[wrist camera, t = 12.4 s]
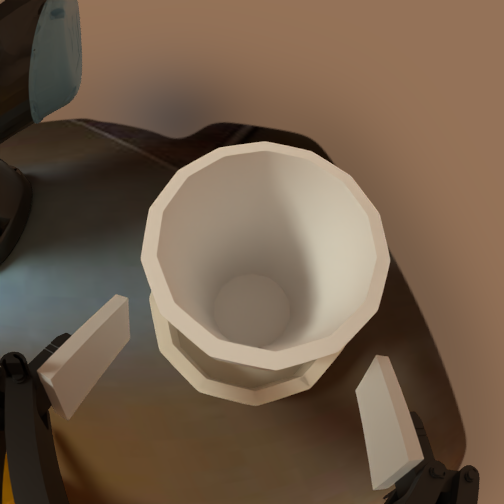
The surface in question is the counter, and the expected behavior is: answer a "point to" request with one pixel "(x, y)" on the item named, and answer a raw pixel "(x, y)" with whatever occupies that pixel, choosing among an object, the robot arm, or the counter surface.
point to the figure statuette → (7, 486)
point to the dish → (233, 369)
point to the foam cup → (265, 255)
